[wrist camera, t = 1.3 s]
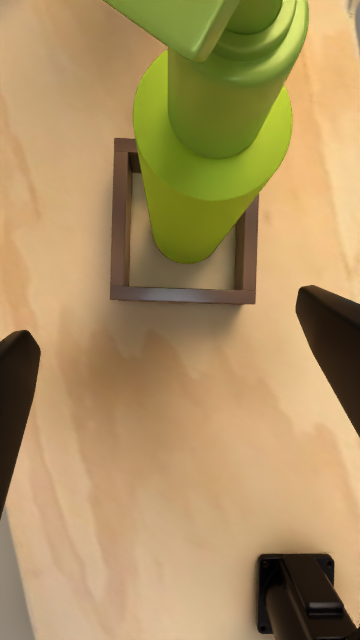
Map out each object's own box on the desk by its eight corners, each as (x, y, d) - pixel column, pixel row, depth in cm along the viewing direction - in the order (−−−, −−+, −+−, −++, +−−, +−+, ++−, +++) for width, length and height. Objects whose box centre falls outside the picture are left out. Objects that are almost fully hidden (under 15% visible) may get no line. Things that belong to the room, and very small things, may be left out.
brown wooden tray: (244, 305, 23) (255, 304, 20) (117, 301, 23) (109, 299, 20) (248, 167, 23) (260, 145, 20) (121, 161, 23) (114, 137, 20)
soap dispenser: (132, 249, 23) (-124, -214, 3) (176, 180, 23) (250, -792, 3) (190, 287, 23) (345, 127, 3) (234, 219, 23) (678, -386, 3)
